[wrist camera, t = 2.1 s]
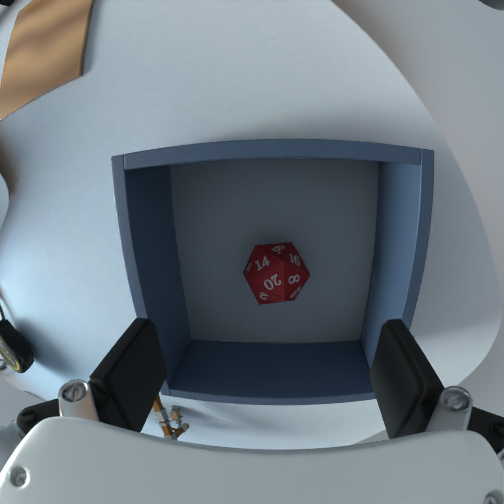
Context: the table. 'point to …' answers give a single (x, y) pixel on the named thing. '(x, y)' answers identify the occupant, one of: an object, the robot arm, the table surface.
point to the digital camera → (6, 2)
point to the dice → (275, 273)
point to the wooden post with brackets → (165, 423)
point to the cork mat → (43, 50)
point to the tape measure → (15, 348)
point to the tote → (263, 354)
